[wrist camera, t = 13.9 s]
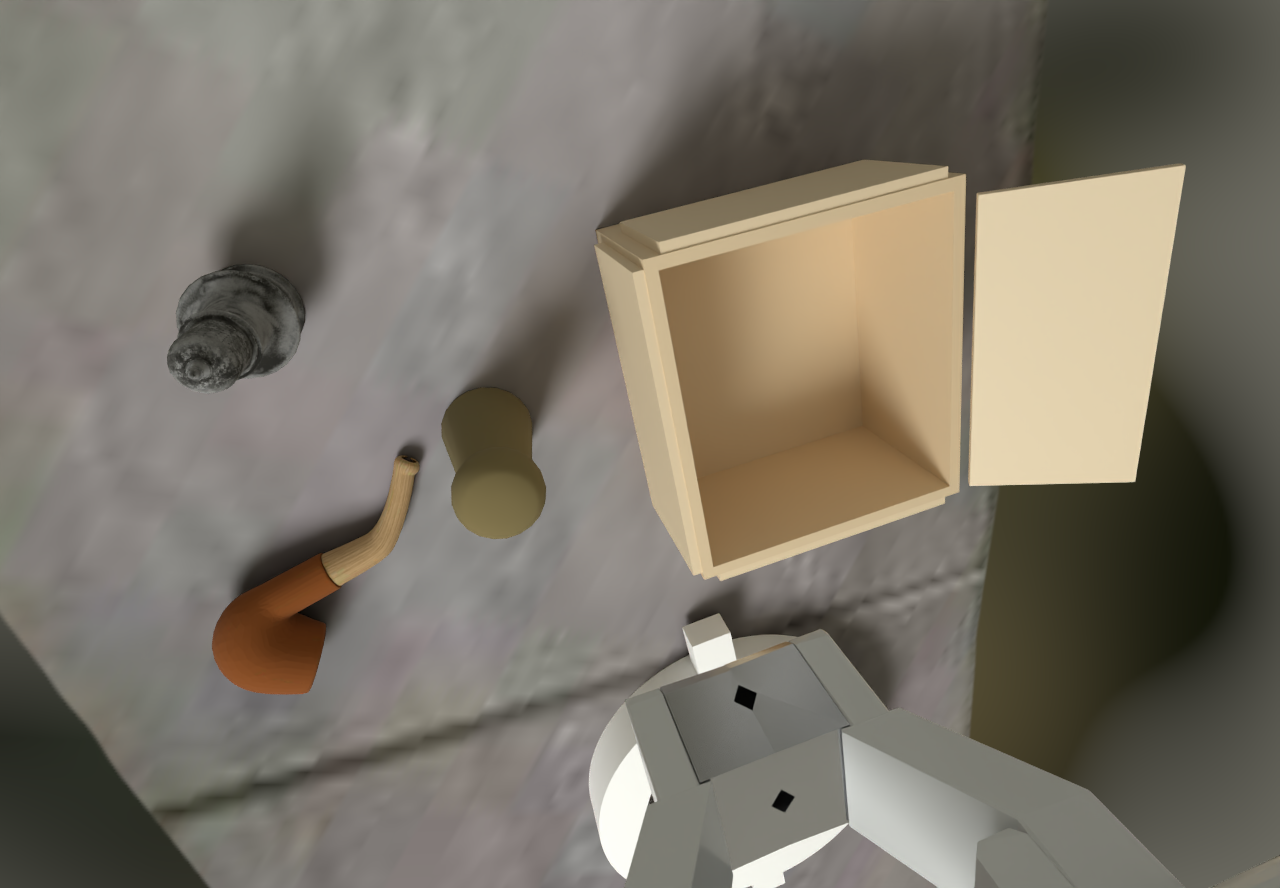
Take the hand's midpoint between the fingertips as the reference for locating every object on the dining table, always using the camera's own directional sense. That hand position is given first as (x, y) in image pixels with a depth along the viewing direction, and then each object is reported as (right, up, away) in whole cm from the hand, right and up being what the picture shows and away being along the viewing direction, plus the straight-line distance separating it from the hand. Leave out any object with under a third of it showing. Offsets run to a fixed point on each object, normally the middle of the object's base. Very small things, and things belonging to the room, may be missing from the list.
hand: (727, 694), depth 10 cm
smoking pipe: (-23, -4, +38) cm, 44 cm away
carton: (+6, +11, +39) cm, 41 cm away
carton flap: (+18, +9, +30) cm, 36 cm away
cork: (-12, +5, +37) cm, 39 cm away
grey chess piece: (-24, +11, +30) cm, 40 cm away
